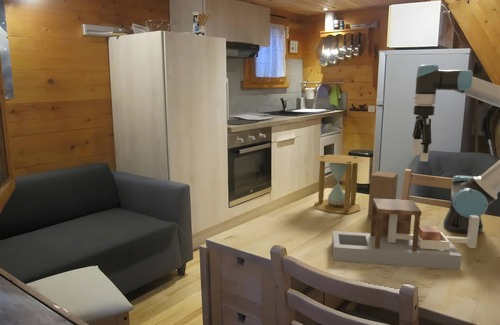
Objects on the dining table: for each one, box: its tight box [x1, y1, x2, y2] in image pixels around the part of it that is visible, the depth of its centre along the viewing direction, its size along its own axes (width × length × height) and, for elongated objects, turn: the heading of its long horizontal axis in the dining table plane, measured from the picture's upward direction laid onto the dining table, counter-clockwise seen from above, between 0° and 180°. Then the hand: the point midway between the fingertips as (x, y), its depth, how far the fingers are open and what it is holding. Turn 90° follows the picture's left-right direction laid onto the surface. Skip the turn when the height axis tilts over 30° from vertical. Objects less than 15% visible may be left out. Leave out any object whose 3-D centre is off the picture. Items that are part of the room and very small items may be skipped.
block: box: [419, 225, 442, 241], centre depth 148 cm, size 6×6×6 cm
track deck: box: [331, 230, 463, 271], centre depth 151 cm, size 42×16×5 cm, turn 81°
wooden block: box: [367, 170, 399, 218], centre depth 193 cm, size 10×10×20 cm
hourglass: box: [314, 154, 364, 215], centre depth 206 cm, size 24×22×25 cm
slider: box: [387, 214, 480, 250], centre depth 147 cm, size 29×10×11 cm, turn 81°
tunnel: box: [370, 198, 422, 251], centre depth 149 cm, size 14×14×14 cm
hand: (419, 157), depth 168 cm, fingers open, 13 cm apart
